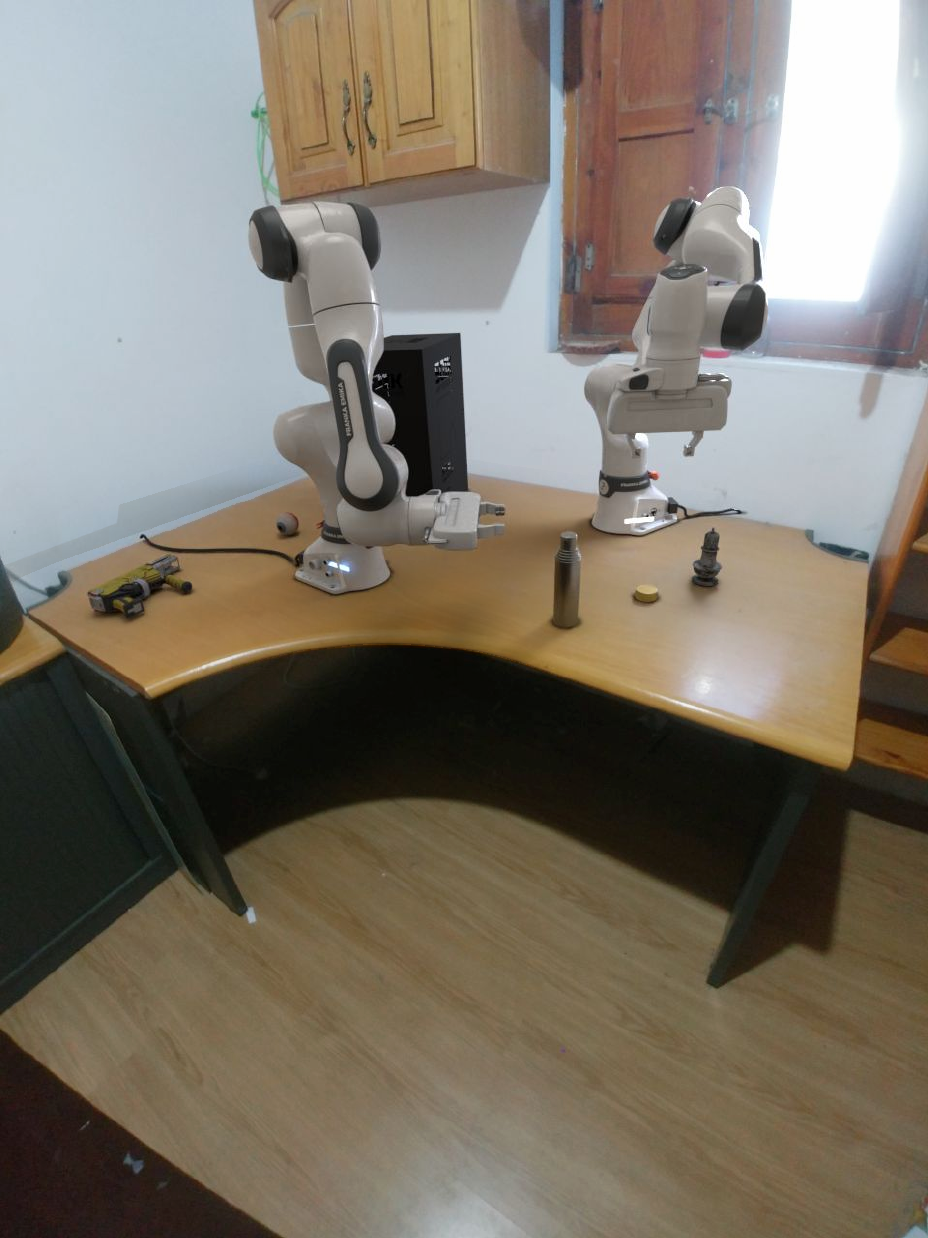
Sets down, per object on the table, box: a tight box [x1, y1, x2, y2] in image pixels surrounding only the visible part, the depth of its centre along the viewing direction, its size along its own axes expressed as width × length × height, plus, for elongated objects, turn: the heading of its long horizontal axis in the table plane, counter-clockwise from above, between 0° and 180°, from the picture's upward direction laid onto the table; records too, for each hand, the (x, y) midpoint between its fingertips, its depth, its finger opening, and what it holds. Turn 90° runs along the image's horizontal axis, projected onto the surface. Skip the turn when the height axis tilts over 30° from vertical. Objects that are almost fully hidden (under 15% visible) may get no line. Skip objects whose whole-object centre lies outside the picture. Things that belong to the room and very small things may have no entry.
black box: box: [372, 332, 469, 497], centre depth 166 cm, size 38×20×45 cm, turn 167°
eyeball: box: [275, 511, 300, 536], centre depth 163 cm, size 6×6×6 cm
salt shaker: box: [691, 527, 723, 587], centre depth 126 cm, size 6×6×12 cm
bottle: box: [552, 531, 582, 629], centre depth 113 cm, size 5×5×18 cm
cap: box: [634, 584, 659, 603], centre depth 124 cm, size 4×4×2 cm
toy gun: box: [86, 553, 193, 620], centre depth 136 cm, size 5×24×15 cm
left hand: (504, 518), depth 108 cm, fingers open, 8 cm apart
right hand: (661, 456), depth 109 cm, fingers open, 8 cm apart
